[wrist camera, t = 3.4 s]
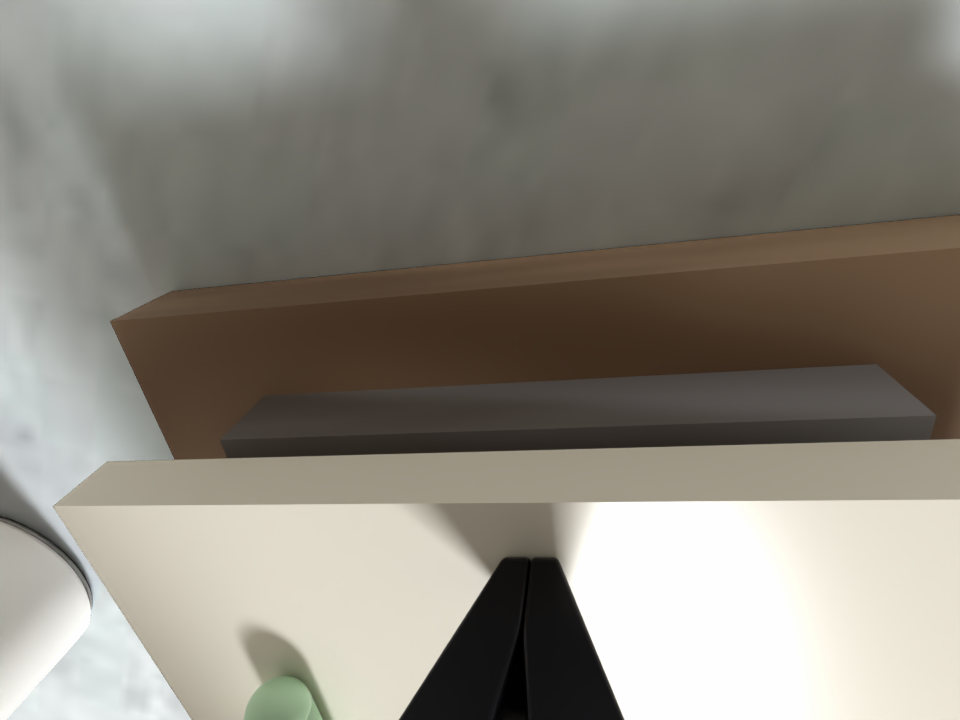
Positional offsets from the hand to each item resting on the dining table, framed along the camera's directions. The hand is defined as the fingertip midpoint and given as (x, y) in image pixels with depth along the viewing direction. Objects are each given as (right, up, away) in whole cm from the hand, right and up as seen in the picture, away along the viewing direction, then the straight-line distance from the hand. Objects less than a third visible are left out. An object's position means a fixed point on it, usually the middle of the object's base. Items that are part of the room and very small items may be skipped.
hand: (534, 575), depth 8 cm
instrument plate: (+1, -5, +4) cm, 6 cm away
